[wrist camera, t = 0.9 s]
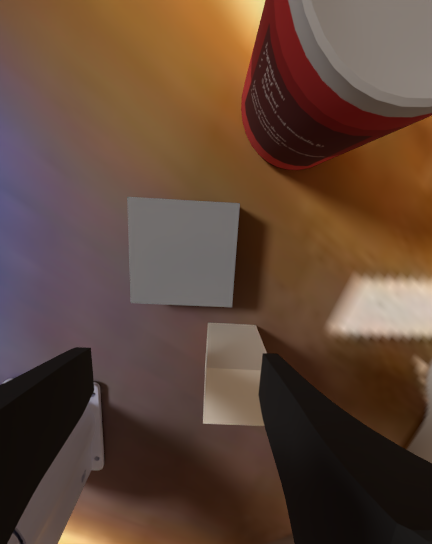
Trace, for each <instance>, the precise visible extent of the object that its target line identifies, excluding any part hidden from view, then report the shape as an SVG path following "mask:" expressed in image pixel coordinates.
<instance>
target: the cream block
mask: <svg viewBox="0 0 432 544" xmlns="http://www.w3.org/2000/svg"><path fill="white" fill-rule="evenodd" d="M263 353H267V352H266V350H265V347H264V345H263V342H262V339H261V337H260V334H259V332H258V329H257V327H256V325H243V324H224V323H208V331H207V347H206V362H205V385H204V410H203V423H204V424H229V425H255V426H265V425H264V422H263V418H262V413H261V407H260V401H259V395H258V393H259V384H260V374H261V365H262V356H263Z"/></svg>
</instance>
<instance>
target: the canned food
mask: <svg viewBox="0 0 432 544" xmlns="http://www.w3.org/2000/svg"><path fill="white" fill-rule="evenodd" d="M241 111H242V120H243V125H244V128H245V132H246V135H247V137H248V139H249V141H250V143H251V145H252V147H253V148H254V149H255V150H256V152H257V153H258V154H259V155H260V156H261V157H262V158H263V159H265V160H266V161H267V162H268V163H270V164H272V165H274V166H276V167H279V168H283V169H287V170H301V169H306V168H311V167H313V166H315V165H318V164H320V163H322V162H325V161H327V160H329V159H332V158H334V157H336V156H339V155H341V154H343V153H346V152H348V151H350V150H352V149H355V148H357V147H359V146H362V145H364V144H366V143H369V142H371V141H373V140H376V139H378V138H380V137H383V136H385V135H387V134H390V133H392V132H394V131H397V130H399V129H401V128H404V127H406V126H408V125H410V124H413V123H415V122H417V121H420V120H422V119H424V118H427V117H429V116H431V115H432V0H266V1H265V5H264V9H263V13H262V17H261V21H260V25H259V29H258V33H257V37H256V41H255V45H254V49H253V53H252V57H251V60H250V64H249V68H248V72H247V76H246V80H245V85H244V89H243V94H242V106H241Z"/></svg>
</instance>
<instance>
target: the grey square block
mask: <svg viewBox="0 0 432 544" xmlns="http://www.w3.org/2000/svg"><path fill="white" fill-rule="evenodd" d="M127 202H128V233H129V265H130V296H131V303H142V304H165V305H189V306H213V307H232V301H233V287H234V274H235V261H236V248H237V235H238V221H239V208H240V203H224V202H207V201H190V200H173V199H156V198H138V197H127Z"/></svg>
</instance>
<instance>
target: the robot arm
mask: <svg viewBox="0 0 432 544" xmlns="http://www.w3.org/2000/svg"><path fill="white" fill-rule="evenodd" d="M93 392H94V393H95V394H93ZM258 395H259V401H260V407H261V413H262V418H263V422H264V425H265V429H266V432H267V436H268V439H269V443H270V446H271V449H272V453H273V456H274V459H275V463H276V466H277V469H278V473H279V476H280V480H281V483H282V487H283V491H284V495H285V499H286V504H287V509H288V514H289V518H290V523H291V528H292V533H293V538H294V543H295V544H432V463H430V462H428V461H426V460H424V459H422V458H420V457H418V456H416V455H414V454H413V453H411V452H409V451H408V450H406V449H404V448H402V447H400V446H399V445H397V444H395V443H394V442H392V441H390V440H389V439H387V438H385V437H384V436H382V435H380V434H379V433H377V432H375V431H374V430H372V429H371V428H369V427H367V426H366V425H364V424H363V423H361V422H360V421H358V420H357V419H356V418H354V417H353V416H351V415H350V414H348V413H347V412H345V411H344V410H343V409H341V408H340V407H339V406H337V405H336V404H335V403H333V402H332V401H331V400H329V399H328V398H327V397H326V396H324V395H323V394H322V393H321V392H319V391H318V390H317V389H316V388H315V387H313V386H312V385H311V384H310V383H309V382H308V381H307V380H305V379H304V378H303V377H302V376H301V375H300V374H299V373H298V372H297V371H295V370H294V369H293V368H292V367H291V366H290V365H289V364H288V363H287V362H286V361H285V360H284V359H283V358H281V357H280V356H279V355H278V354H271V353H263V356H262V365H261V374H260V384H259V393H258ZM103 466H104V446H103V429H102V411H101V394H100V385H99V384H98V383H96V382H94V381H93V370H92V358H91V348H78V347H76V348H73V349H71V350H69V351H66V352H64V353H62V354H60V355H58V356H56V357H55V358H53V359H51V360H49V361H47V362H45V363H43V364H41V365H39V366H37V367H35V368H33V369H32V370H30V371H28V372H26V373H24V374H22V375H20V376H18V377H16V378H14V379H11V378H10V379H7V380H6V381H5V382H3V384H1V385H0V544H58V542H59V539H60V537H61V535H62V533H63V531H64V529H65V526H66V524H67V522H68V520H69V518H70V516H71V513H72V511H73V509H74V507H75V505H76V503H77V501H78V498H79V496H80V494H81V492H82V490H83V488H84V485H85V483H86V481H87V479H88V477H89V475H90V472H91V470H96V471H98V470H101V469H102V468H103Z"/></svg>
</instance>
